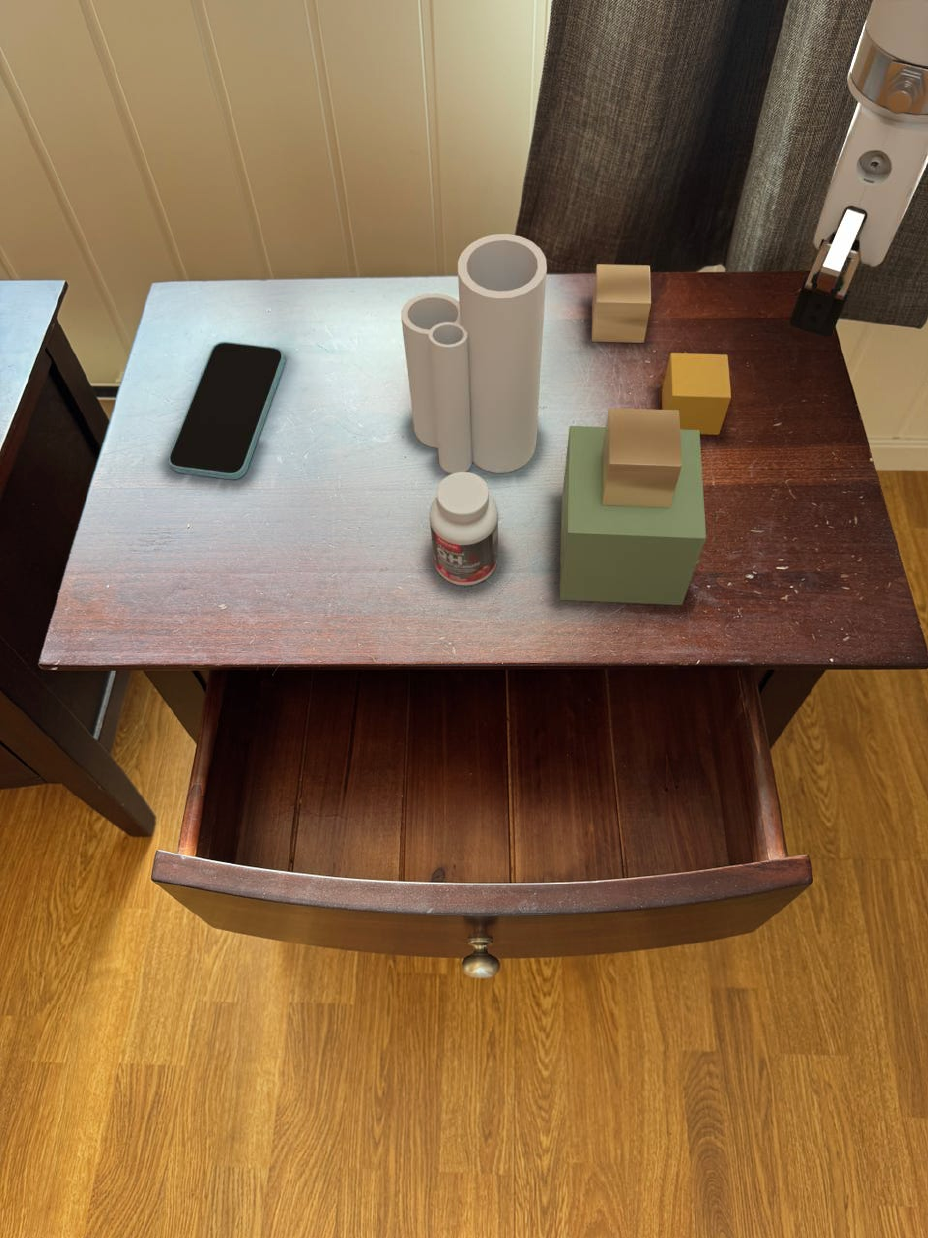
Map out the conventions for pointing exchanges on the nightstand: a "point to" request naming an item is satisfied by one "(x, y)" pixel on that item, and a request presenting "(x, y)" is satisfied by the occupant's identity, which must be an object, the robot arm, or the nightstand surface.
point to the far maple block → (621, 303)
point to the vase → (480, 357)
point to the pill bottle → (464, 529)
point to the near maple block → (641, 457)
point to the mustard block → (697, 390)
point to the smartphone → (227, 411)
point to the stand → (628, 530)
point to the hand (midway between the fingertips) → (829, 286)
